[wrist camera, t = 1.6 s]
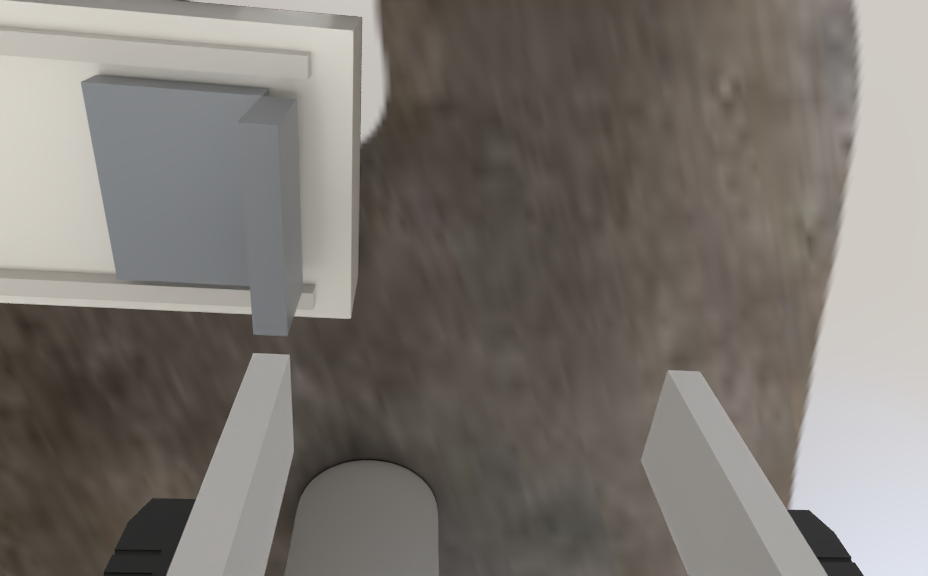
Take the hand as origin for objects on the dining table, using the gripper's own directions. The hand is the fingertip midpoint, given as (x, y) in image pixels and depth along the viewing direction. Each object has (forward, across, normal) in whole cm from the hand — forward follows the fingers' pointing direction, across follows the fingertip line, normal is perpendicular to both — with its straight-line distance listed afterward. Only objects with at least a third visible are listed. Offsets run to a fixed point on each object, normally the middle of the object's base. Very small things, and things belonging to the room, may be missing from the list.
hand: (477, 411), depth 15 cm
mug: (+18, -3, -24) cm, 30 cm away
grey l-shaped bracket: (+13, -9, 0) cm, 16 cm away
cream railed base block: (+17, -14, 0) cm, 22 cm away
